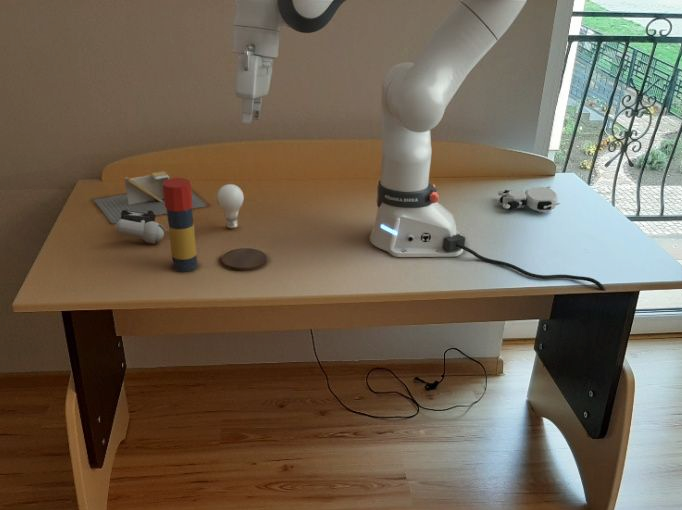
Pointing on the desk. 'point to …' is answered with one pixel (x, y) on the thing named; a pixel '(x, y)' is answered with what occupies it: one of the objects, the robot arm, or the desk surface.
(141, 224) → the clip-on lamp
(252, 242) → the desk surface
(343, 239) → the desk surface
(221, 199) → the lightbulb
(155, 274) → the desk surface
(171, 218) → the spray can
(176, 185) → the cap
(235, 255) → the coaster
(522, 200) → the robot toy
